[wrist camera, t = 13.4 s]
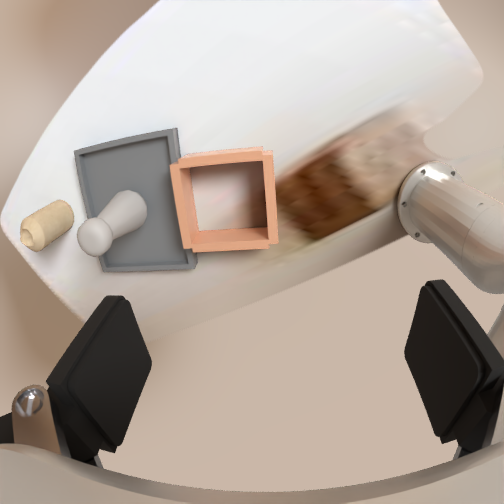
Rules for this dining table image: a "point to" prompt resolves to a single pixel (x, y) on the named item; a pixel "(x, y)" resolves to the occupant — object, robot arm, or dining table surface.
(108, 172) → the tray
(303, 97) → the dining table surface
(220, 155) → the open container
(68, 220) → the candle
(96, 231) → the salt shaker
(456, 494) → the robot arm
